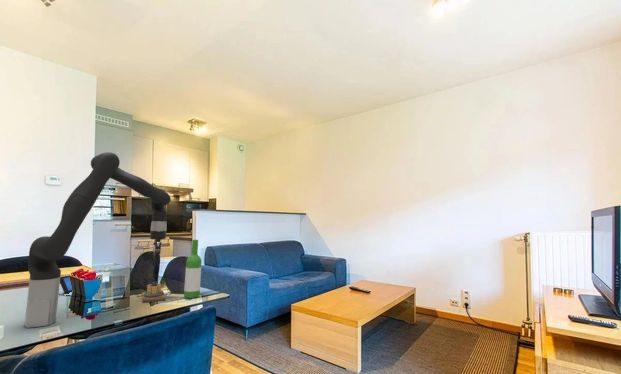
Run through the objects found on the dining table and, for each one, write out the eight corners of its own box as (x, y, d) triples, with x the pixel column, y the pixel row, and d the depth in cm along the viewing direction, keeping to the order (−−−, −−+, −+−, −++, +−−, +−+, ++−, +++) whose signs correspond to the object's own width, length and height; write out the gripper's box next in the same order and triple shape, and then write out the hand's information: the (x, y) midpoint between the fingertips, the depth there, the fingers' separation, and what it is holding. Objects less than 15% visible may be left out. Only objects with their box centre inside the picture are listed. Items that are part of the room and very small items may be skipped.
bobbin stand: (165, 300, 154) (166, 284, 155) (142, 302, 150) (143, 286, 150) (162, 293, 168) (163, 278, 169) (142, 295, 164) (143, 279, 164)
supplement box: (93, 297, 156) (95, 272, 157) (100, 300, 152) (103, 274, 154) (76, 301, 150) (79, 274, 151) (83, 303, 146) (86, 276, 147)
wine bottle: (180, 298, 160) (184, 239, 163) (189, 294, 168) (193, 238, 171) (193, 299, 158) (197, 240, 161) (202, 295, 166) (205, 239, 169)
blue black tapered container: (79, 297, 157) (81, 279, 158) (55, 296, 158) (57, 277, 159) (102, 290, 172) (104, 273, 173) (80, 289, 173) (82, 272, 174)
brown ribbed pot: (160, 293, 158) (161, 285, 158) (147, 294, 155) (147, 286, 155) (159, 291, 163) (160, 283, 164) (146, 292, 160) (147, 284, 161)
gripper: (150, 229, 167) (147, 259, 165) (151, 230, 154) (148, 263, 153) (165, 229, 170) (163, 259, 169) (167, 230, 158) (165, 262, 156)
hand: (156, 261), depth 161 cm, fingers open, 8 cm apart
